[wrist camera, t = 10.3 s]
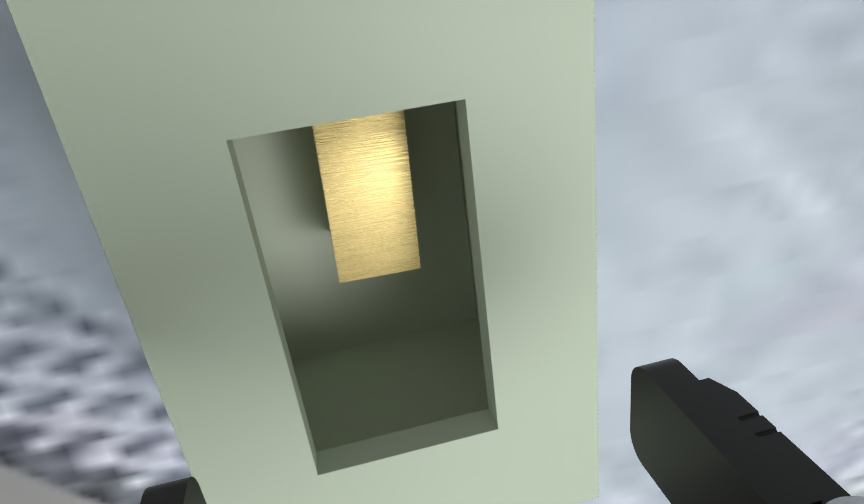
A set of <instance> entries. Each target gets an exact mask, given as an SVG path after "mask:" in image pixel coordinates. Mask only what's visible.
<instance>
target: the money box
mask: <svg viewBox="0 0 864 504" xmlns="http://www.w3.org/2000/svg"><path fill="white" fill-rule="evenodd" d="M6 2H7V5H8V8H9V10H10V13H11V15H12V18H13V20H14V23H15V25H16V28H17V30H18V33H19V36H20V38H21V41H22V43H23V46H24V48H25V51H26V53H27V56H28V59H29V61H30V64H31V66H32V69H33V71H34V74H35V76H36V79H37V81H38V84H39V87H40V89H41V92H42V94H43V97H44V99H45V102H46V104H47V107H48V110H49V112H50V115H51V117H52V120H53V122H54V125H55V127H56V130H57V133H58V135H59V138H60V140H61V143H62V145H63V148H64V150H65V153H66V155H67V158H68V161H69V163H70V166H71V168H72V171H73V173H74V176H75V178H76V181H77V184H78V186H79V189H80V191H81V194H82V196H83V199H84V201H85V204H86V206H87V209H88V212H89V214H90V217H91V219H92V222H93V224H94V227H95V229H96V232H97V235H98V237H99V240H100V242H101V245H102V247H103V250H104V252H105V255H106V257H107V260H108V263H109V265H110V268H111V270H112V273H113V275H114V278H115V280H116V283H117V286H118V288H119V291H120V293H121V296H122V298H123V301H124V303H125V306H126V309H127V311H128V314H129V316H130V319H131V321H132V324H133V326H134V329H135V331H136V334H137V337H138V339H139V342H140V344H141V347H142V349H143V352H144V354H145V357H146V360H147V362H148V365H149V367H150V370H151V372H152V375H153V377H154V380H155V382H156V385H157V388H158V390H159V393H160V395H161V398H162V400H163V403H164V405H165V408H166V411H167V413H168V416H169V418H170V421H171V423H172V426H173V428H174V431H175V434H176V436H177V439H178V441H179V444H180V446H181V449H182V451H183V454H184V456H185V459H186V462H187V464H188V467H189V469H190V472H191V474H192V477H194V478H195V479H196V480H197V481H198V483H199V486H200V488H201V491H202V493H203V496H204V498H205V501H206V504H575V503H579V502H582V501H586V500H589V499H593V498H596V497H599V462H598V360H597V258H596V156H595V53H594V0H6ZM399 110H404V118H405V127H406V136H407V145H408V155H409V164H410V173H411V182H412V191H413V201H414V210H415V219H416V228H417V238H418V247H419V256H420V265H421V269H415V270H410V271H404V272H398V273H393V274H387V275H382V276H376V277H371V278H365V279H359V280H354V281H348V282H343V283H340V282H339V277H338V271H337V266H336V261H335V256H334V250H333V245H332V240H331V234H330V229H329V223H328V217H327V212H326V206H325V200H324V194H323V188H322V183H321V177H320V171H319V165H318V160H317V154H316V148H315V142H314V137H313V131H312V126H313V125H319V124H325V123H330V122H336V121H342V120H348V119H353V118H359V117H365V116H371V115H376V114H382V113H388V112H394V111H399Z"/></svg>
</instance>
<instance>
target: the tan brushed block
mask: <svg viewBox="0 0 864 504" xmlns="http://www.w3.org/2000/svg"><path fill="white" fill-rule="evenodd" d="M312 131H313V137H314V142H315V148H316V154H317V160H318V165H319V171H320V177H321V183H322V188H323V194H324V200H325V206H326V212H327V217H328V223H329V229H330V234H331V240H332V245H333V250H334V256H335V261H336V266H337V271H338V277H339V282H340V283H343V282H348V281H354V280H359V279H365V278H371V277H376V276H382V275H387V274H393V273H398V272H404V271H410V270H415V269H421V265H420V256H419V247H418V238H417V228H416V219H415V210H414V201H413V191H412V182H411V173H410V164H409V155H408V145H407V136H406V127H405V118H404V110H399V111H394V112H388V113H382V114H376V115H371V116H365V117H359V118H353V119H348V120H342V121H336V122H330V123H325V124H319V125H313V126H312Z"/></svg>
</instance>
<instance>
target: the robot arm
mask: <svg viewBox="0 0 864 504" xmlns="http://www.w3.org/2000/svg"><path fill="white" fill-rule="evenodd" d="M630 433H631V439H632V443H633V446H634V449H635V452H636V454H637V456H638V458H639V460H640V462H641V463H642V465H643V466H644V468H645V469H646V470H647V472H648V473H649V474H650V476H651V477H652V478H653V480H654V481H655V482H656V484H657V485H658V487H659V488H660V489H661V491H662V492H663V493H664V495H665V496H666V497H667V499H668V500H669V501H670V503H671V504H864V497H861V496H851V495H850V494H848V493H847V492H846V491H845V490H844V489H843V488H842V487H841V486H840V485H838V484H837V483H836V482H835V481H834V480H833V479H832V478H831V477H830V476H829V475H827V474H826V473H825V472H824V471H823V470H822V469H821V468H820V467H819V466H818V465H816V464H815V463H814V462H813V461H812V460H811V459H810V458H809V457H808V456H807V455H806V454H804V453H803V452H802V451H801V450H800V449H799V448H798V447H797V446H796V445H795V444H793V443H792V442H791V441H790V440H789V439H788V438H787V437H786V436H785V435H784V434H782V433H781V432H777V430H776V427H775V426H774V425H773V424H772V423H770V422H769V421H768V420H767V419H766V418H765V417H764V416H763V415H762V416H760V415H759V413H758V411H757V410H756V409H755V408H754V407H753V406H752V405H751V404H750V403H748V402H747V401H746V400H745V399H744V398H743V397H742V396H741V395H740V394H739V393H738V392H736V391H734V390H732V389H730V388H728V387H726V386H724V385H722V384H720V383H718V382H716V381H714V380H712V379H710V378H707V379H703V380H698V379H697V378H696V377H695V376H694V375H693V374H692V373H691V372H690V371H689V370H688V369H687V368H686V367H685V366H684V365H683V364H682V363H681V362H679V361H678V360H676V359H674V358H671V359H667V360H663V361H659V362H655V363H651V364H647V365H643V366H639V367H636V368H634V369H633V371H632V375H631V413H630ZM140 504H206V501H205V498H204V496H203V493H202V491H201V488H200V486H199V483H198V481H197V480H196V479H195V478H194V477H188V478H184V479H180V480H176V481H172V482H168V483H164V484H160V485H156V486H152V487H148V488H147V489H146V490H145V491H144V493H143V496H142V499H141V503H140Z"/></svg>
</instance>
